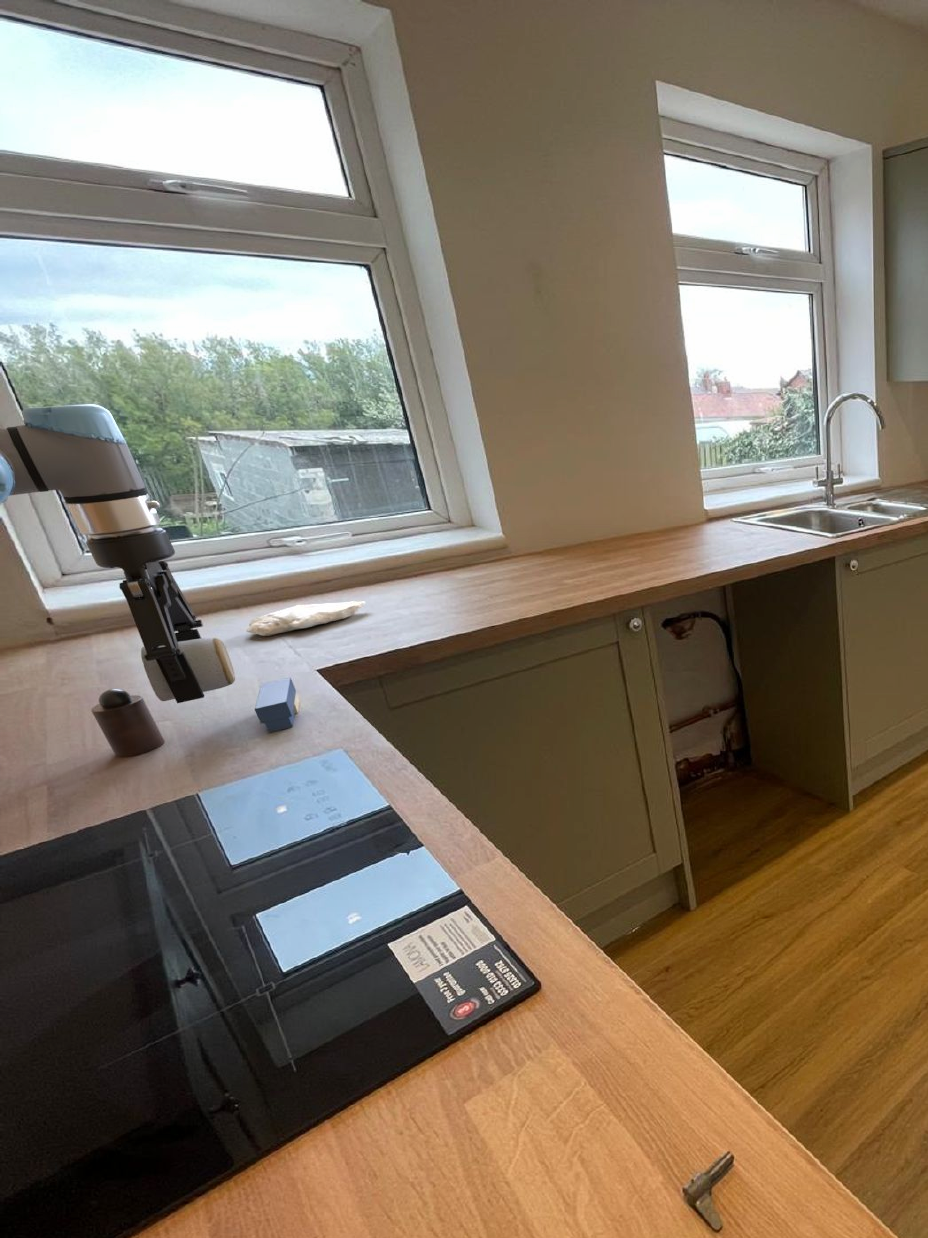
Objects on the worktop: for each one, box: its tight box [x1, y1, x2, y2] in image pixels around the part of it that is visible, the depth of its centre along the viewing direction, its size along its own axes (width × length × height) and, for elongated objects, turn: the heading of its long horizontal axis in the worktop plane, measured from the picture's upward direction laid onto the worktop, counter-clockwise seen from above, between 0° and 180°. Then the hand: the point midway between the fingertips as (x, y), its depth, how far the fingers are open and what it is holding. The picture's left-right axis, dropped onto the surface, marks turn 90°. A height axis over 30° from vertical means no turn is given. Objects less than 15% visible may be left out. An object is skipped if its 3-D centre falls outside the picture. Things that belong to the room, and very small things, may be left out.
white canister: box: [140, 637, 236, 702], centre depth 100 cm, size 11×8×8 cm
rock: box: [246, 600, 366, 637], centre depth 146 cm, size 4×13×20 cm
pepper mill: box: [90, 688, 165, 758], centre depth 98 cm, size 5×5×9 cm
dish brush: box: [254, 677, 301, 734], centre depth 106 cm, size 11×4×4 cm, turn 35°
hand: (197, 685), depth 101 cm, fingers closed on white canister, 11 cm apart
